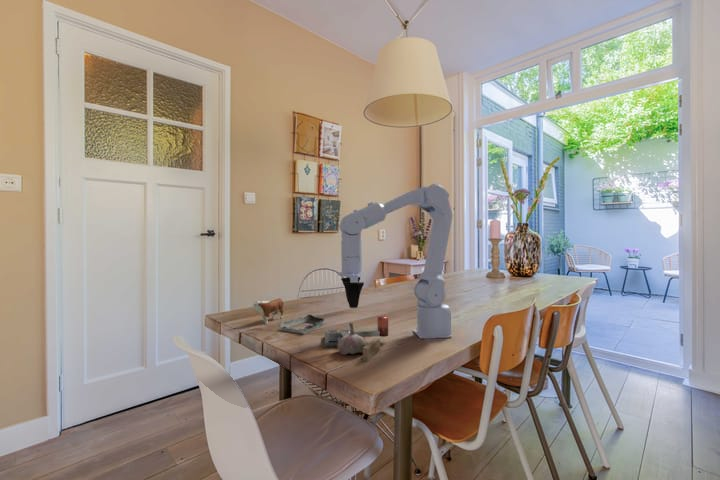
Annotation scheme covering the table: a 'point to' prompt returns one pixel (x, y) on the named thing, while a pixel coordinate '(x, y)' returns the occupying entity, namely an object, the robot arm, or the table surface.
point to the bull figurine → (268, 308)
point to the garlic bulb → (351, 342)
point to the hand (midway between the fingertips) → (352, 304)
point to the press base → (331, 343)
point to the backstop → (371, 349)
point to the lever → (363, 330)
